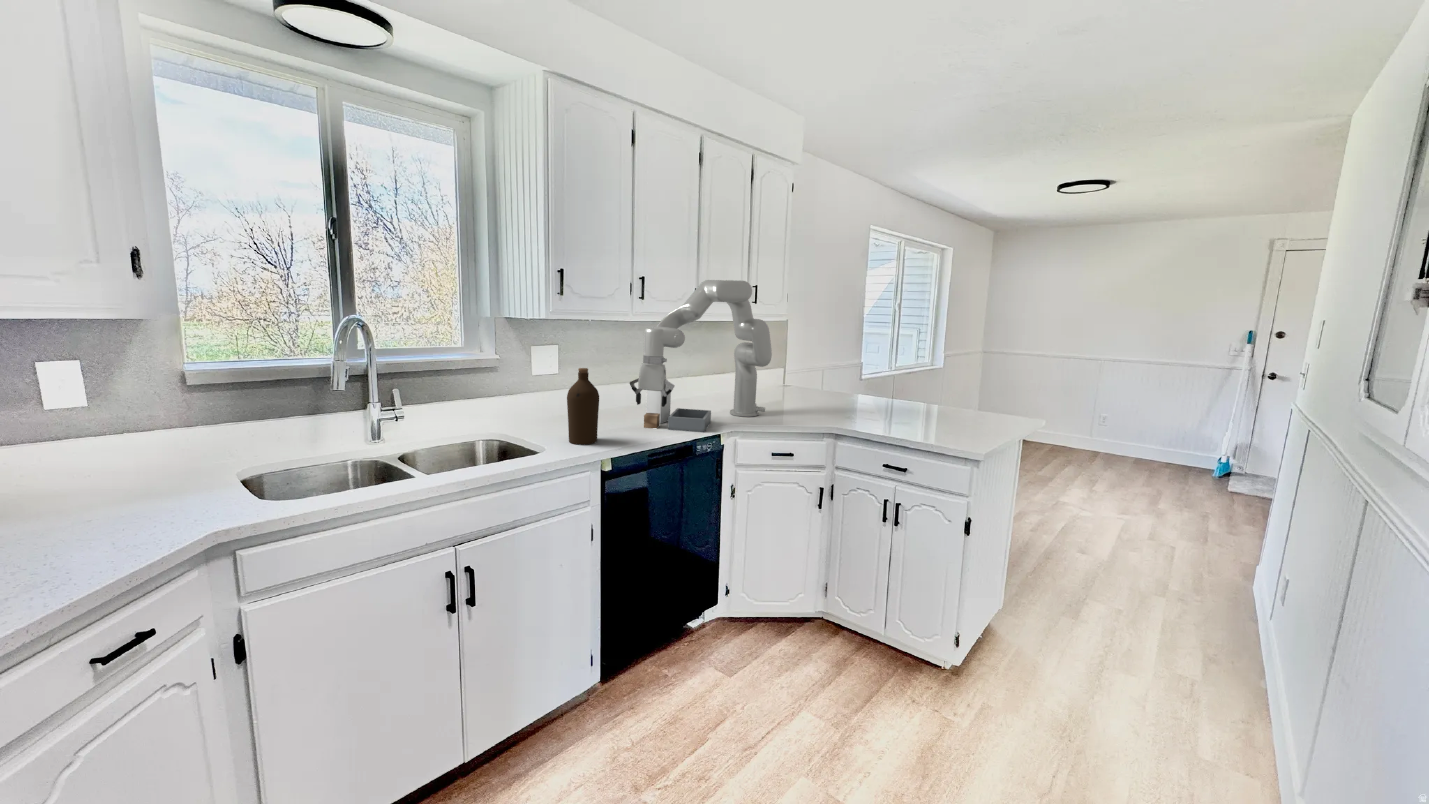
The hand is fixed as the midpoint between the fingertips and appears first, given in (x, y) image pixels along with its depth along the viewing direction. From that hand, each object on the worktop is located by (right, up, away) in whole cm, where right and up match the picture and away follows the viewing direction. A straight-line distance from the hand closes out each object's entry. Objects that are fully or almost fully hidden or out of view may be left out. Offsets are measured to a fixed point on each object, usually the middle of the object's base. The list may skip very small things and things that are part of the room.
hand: (651, 405), depth 221 cm
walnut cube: (0, -8, +2) cm, 9 cm away
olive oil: (-20, -12, -24) cm, 34 cm away
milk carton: (+1, -7, +13) cm, 14 cm away
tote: (+15, -8, +6) cm, 18 cm away
